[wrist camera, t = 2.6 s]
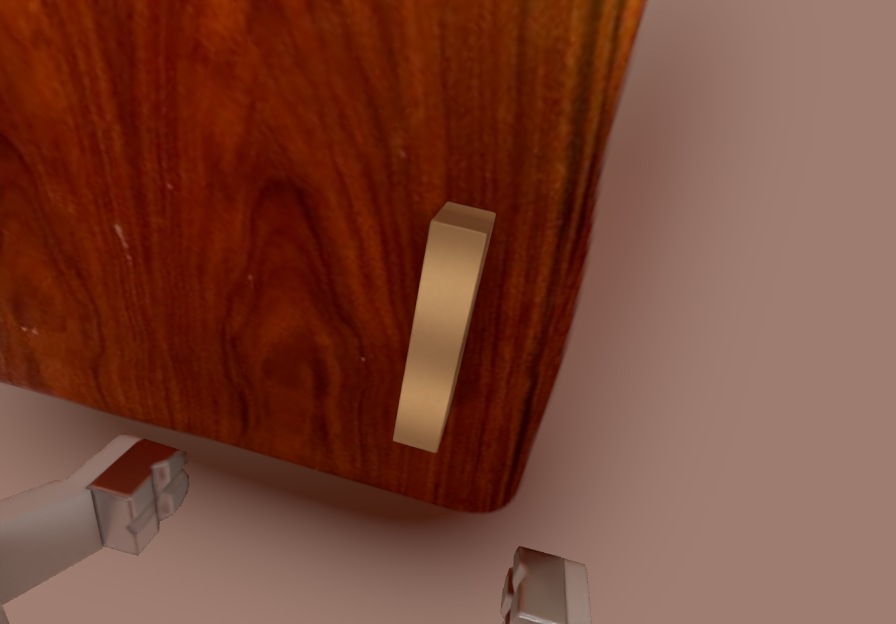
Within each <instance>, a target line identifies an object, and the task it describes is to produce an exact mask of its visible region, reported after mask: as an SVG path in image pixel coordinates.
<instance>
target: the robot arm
mask: <svg viewBox="0 0 896 624" xmlns="http://www.w3.org/2000/svg"><path fill="white" fill-rule="evenodd" d="M186 464H187V454H186V452H184V451H181V450H178V449H175V448H172V447H169V446H165V445H162V444H159V443H156V442H153V441H149V440H146V439H143V438H140V437H136V436H133V435H129V434H126V433H125V434H122V435H120V436H117V437H116V438H115V439H113V440H112V441H111V442H110V443H109V444H107V445H106V446H105V447H104V448H102V449H101V450H100V451H99V452H98V453H97V454H95V455H94V456H93V457H92V458H90V459H89V460H88V461H87V462H86V463H85V464H83V465H82V466H81V467H80V468H78V469H77V470H76V471H75V472H74V473H72V474H71V475H70V476H69V477H68V478H66V479H65V480H64V481H59V480H55V481H52V482H50V483H47V484H44V485H41V486H38V487H36V488H33V489H30V490H28V491H24V492H22V493H19V494H16V495H13V496H11V497H8V498H5V499H2V500H0V624H9V622H8V619H7V616H6V614H5V611H4V609H3V606H2V605H3V604H5V603H7V602H9V601H10V600H12V599H14V598H16V597H18V596H19V595H21V594H23V593H24V592H26V591H28V590H30V589H32V588H33V587H35V586H37V585H39V584H40V583H42V582H44V581H46V580H48V579H49V578H51V577H53V576H55V575H56V574H58V573H60V572H62V571H64V570H65V569H67V568H69V567H71V566H72V565H74V564H76V563H78V562H80V561H81V560H83V559H85V558H87V557H88V556H90V555H92V554H94V553H95V552H97V551H99V550H101V549H102V546H104V547H108V548H112V549H115V550H119V551H122V552H126V553H130V554H133V555H137V556H138V555H139V554H140V553H141V552H142V551H143V549H144V548H145V547H146V546H147V545H148V544H149V542H150V541H151V540H152V539H153V538H154V537H155V535H156V534H157V533H158V532H159V525H160V521H161V520H164V519H166V518H168V517H170V516H172V515H173V514H174V513H175V512H176V511H177V509H178V508H179V507H180V506H181V504H182V502H183V500H184V498H185V496H186V494H187V491H188V487H189V476H188V474H187V473H186V472H185V470H184V469H183V467H184V466H185V465H186ZM587 579H588V578H587V569H586V567H585V565H584V564H581V563H578V562H574V561H571V560H567V559H564V558H561V557H558V556H555V555H551V554H547V553H544V552H540V551H536V550H533V549H529V548H525V547H521V546H519V547H518V548H517V550H516V553H515V555H514V564H513V567H512V568H509V571H508V574H507V576H506V580H505V585H504V589H503V595H502V602H501V614H502V616H503V618H504V621H503V624H592V620H591V610H590V601H589V600H590V599H589V589H588V580H587Z"/></svg>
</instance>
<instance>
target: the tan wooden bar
mask: <svg viewBox="0 0 896 624" xmlns="http://www.w3.org/2000/svg"><path fill="white" fill-rule="evenodd" d="M495 216H496V213H494V212H490V211H486V210H482V209H478V208H473V207H469V206H465V205H461V204H456V203H452V202H447V203H446V204H445V205H444V206H443V207H442V209H441V210H440V211H439V212H438V213H437V214H436V216H435V217H434V218H433V219H432V220H431V222H430V227H429V233H428V239H427V245H426V251H425V256H424V262H423V268H422V274H421V279H420V285H419V291H418V297H417V303H416V308H415V314H414V320H413V326H412V331H411V337H410V343H409V349H408V355H407V360H406V366H405V372H404V378H403V384H402V389H401V395H400V401H399V407H398V412H397V418H396V424H395V430H394V436H393V441H395V442H398V443H402V444H405V445H409V446H413V447H416V448H420V449H423V450H427V451H430V452H434V453H436V452H437V451H438V448H439V444H440V441H441V438H442V435H443V431H444V428H445V425H446V422H447V418H448V415H449V412H450V408H451V403H452V399H453V395H454V391H455V386H456V382H457V378H458V374H459V369H460V365H461V361H462V357H463V352H464V348H465V344H466V339H467V335H468V331H469V327H470V322H471V318H472V314H473V310H474V305H475V301H476V297H477V293H478V288H479V284H480V280H481V276H482V271H483V267H484V263H485V259H486V254H487V250H488V246H489V242H490V237H491V233H492V229H493V225H494V220H495Z"/></svg>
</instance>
